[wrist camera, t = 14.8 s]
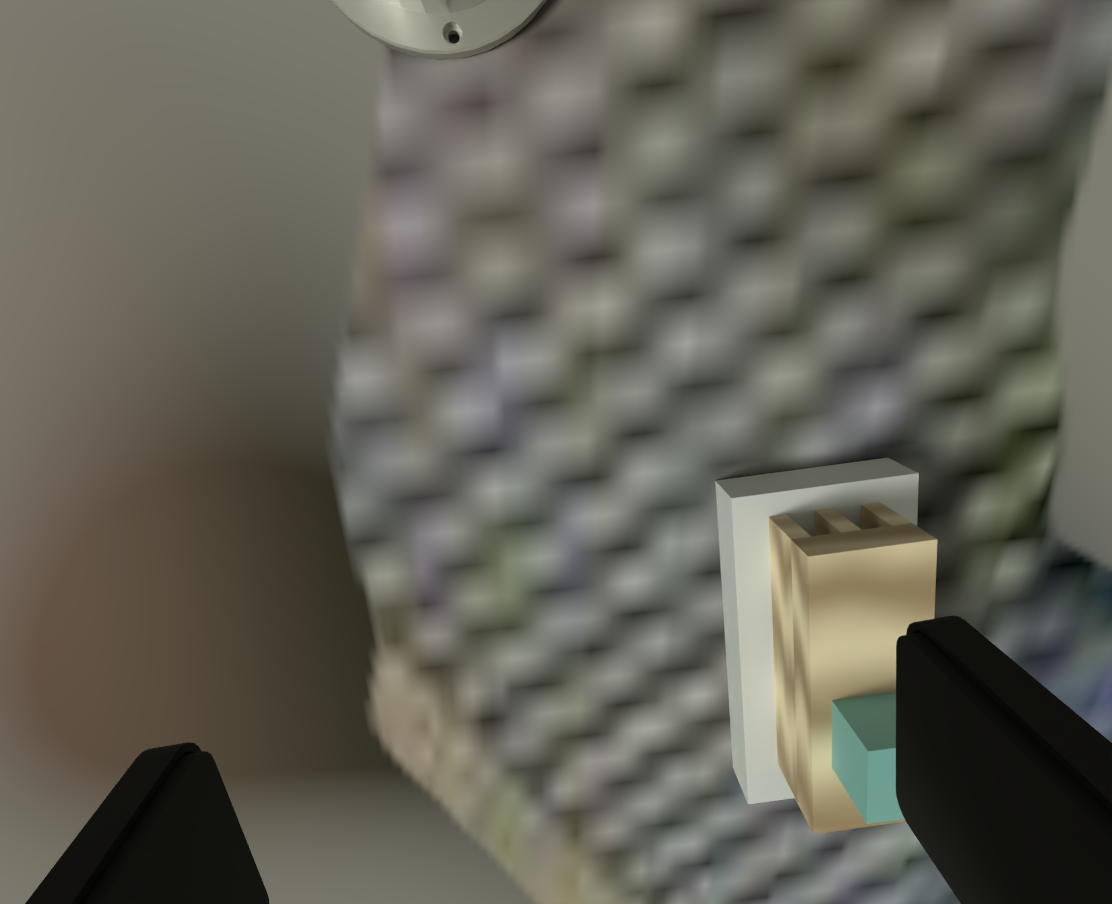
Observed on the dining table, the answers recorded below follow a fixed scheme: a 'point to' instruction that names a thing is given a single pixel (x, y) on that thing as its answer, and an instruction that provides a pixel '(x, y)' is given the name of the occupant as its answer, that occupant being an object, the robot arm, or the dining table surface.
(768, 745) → the dock
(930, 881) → the dining table surface
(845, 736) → the teal cube
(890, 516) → the tan long block
